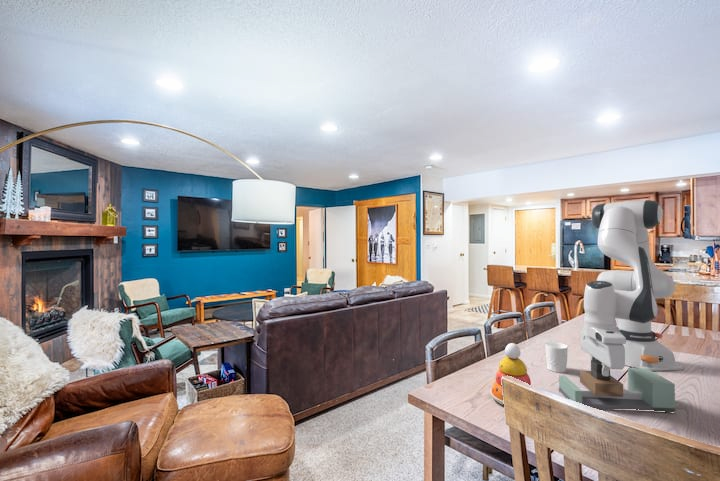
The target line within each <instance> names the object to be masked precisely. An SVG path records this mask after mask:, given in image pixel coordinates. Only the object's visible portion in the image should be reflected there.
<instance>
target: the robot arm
mask: <svg viewBox="0 0 720 481" xmlns="http://www.w3.org/2000/svg"><path fill="white" fill-rule="evenodd" d="M663 214H664V212H663V208H662V207H661V204H660V203H659V202H658V201H656V200H650V199H649V200H648V199H645V200H624V201H617V202H615V201H614V202H609V203H606V202H605V203H604V202H603V203H599V204H596V205H595V207H593V209H592V211H591V214H590V219H591V222H592V225H593V226H594V227H595V228H597V229H598V234H597V247H598V249H599V251H600V252H601V253H602V254H603V255H604V256H607V257H608V258H610V259H611V260H615V261H618V262H620V263H621V264H624V265H627V266H629V267H630V268H631V269H632V270H618V269H617V270H615V269H614V270H606V271H601V272H600V273H599V274H598V276H597V278H596V280H593V281H589V282H587V283H586V284H585V286H584V293H583V310H584V317H583V327H582V329H581V331H580V338H579V340H580V341H579V345H580V349H581V350H583V351H584V352H585V353H587V354H588V355H589V358H590V361H591V360H599V361H600V362H602V366H603V367H602V369H600V370H601V374H602V375H603V376H609V370H610V371H611V369H612V370H624V369H625V366H628V367H630V368H643V369H649V370H651V371H653V372H654V371H655V372H656V371H659V372H660V371H682V370H684V366H683V365H682V364H681V363H679V362H677V361H676V358H675V354H674V352H673V351H672V350H671V349H670V348H668V347H666V346H665V345H663V343H661V342H660V341H659V340H660V339H663V337H664V336H663V334H662V333H660V332H654V331H653V330H652V321H653V320H655V319H656V317H657V315H658V303H657V300H656V299H668V298H670V297H671V296H672V295H673V294H674V292H675V290H676V283H675V280H674V279H673V277H671V276H670V274H667V273H666V272H664V271H662V270H661V269H659V267H658V266H657V265H656V264H655V263H654V261H653V259H652V257H651V252H650V242H649V241H650V240H649V239H650V238H649V231H648V230H649V229H652V228H655V227H657V226H658V225H660V223H661V221H662V218H663ZM616 319H617V320H616ZM657 339H659V340H657ZM641 355H651V356H655V357H658V358H659V363H653V368H649V367H647V362H644V361H642V360H641Z"/></svg>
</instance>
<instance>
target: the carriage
mask: <svg viewBox="0 0 720 481" xmlns="http://www.w3.org/2000/svg"><path fill="white" fill-rule="evenodd" d="M602 367H603V366H602V362H600V361H599V360H591V359H590V370H580V371H579V383H581V385H583V386H584V388H587V389H588V390H590V391H591V392H592V393H593V394H594V395H595V396H613V397H623V389H624V384H623V383H622V382H621V381H619V380H617V378H615V377H614V376H612V375H611V369H610V370H609V376H603V375H602V374H601V370H600V369H602Z"/></svg>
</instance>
